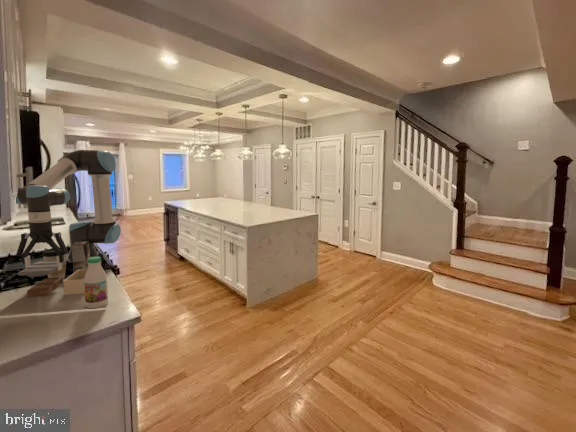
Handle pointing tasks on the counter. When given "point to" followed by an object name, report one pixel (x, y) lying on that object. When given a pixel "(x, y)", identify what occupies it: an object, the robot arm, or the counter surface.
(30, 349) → the counter surface
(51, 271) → the lid
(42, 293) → the stand
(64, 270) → the coffee cup
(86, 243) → the coffee box
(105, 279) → the milk bottle
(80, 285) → the tub
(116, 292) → the counter surface
